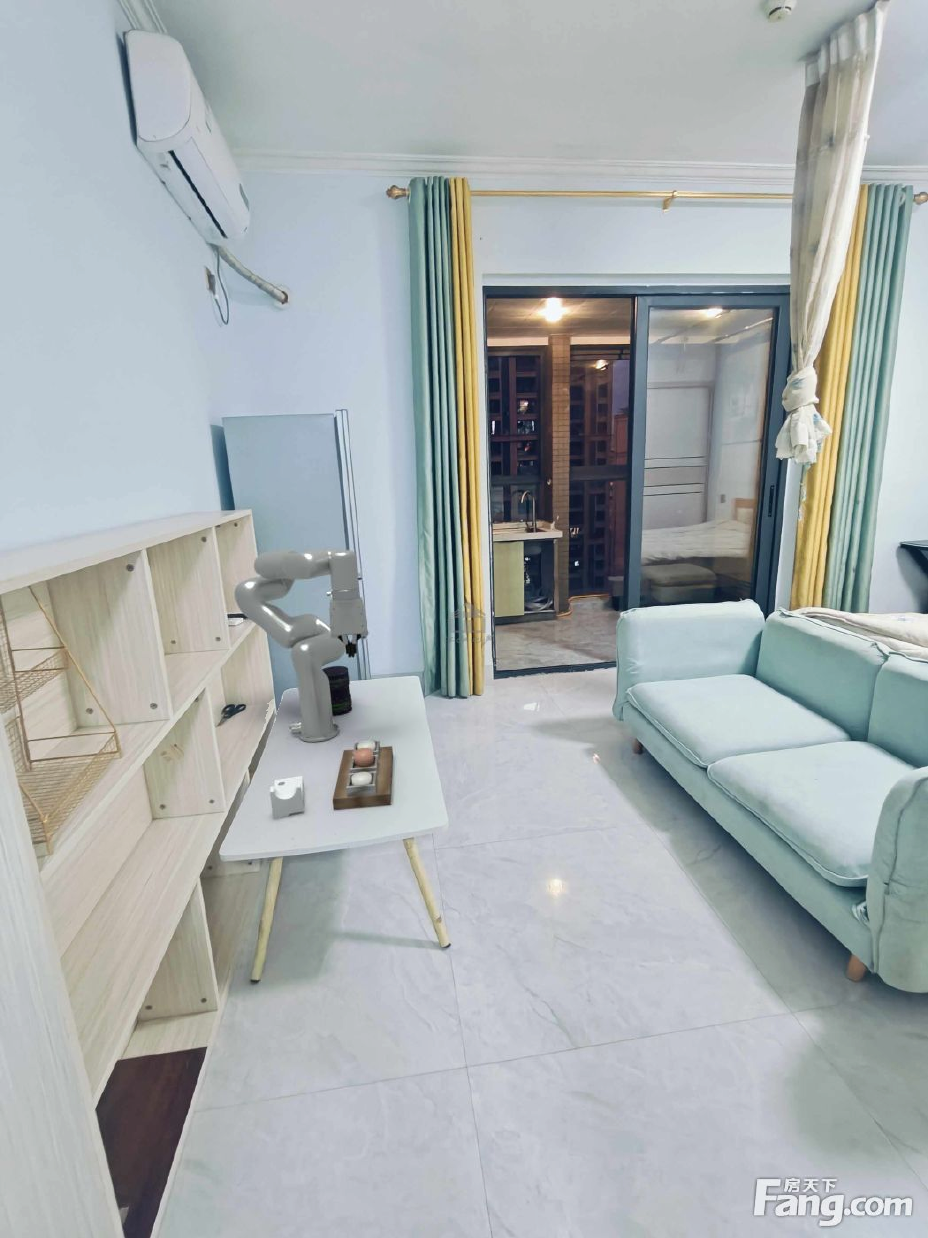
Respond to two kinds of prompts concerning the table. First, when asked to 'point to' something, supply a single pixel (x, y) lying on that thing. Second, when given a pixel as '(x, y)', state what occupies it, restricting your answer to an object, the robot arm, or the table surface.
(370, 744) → the far button
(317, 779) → the table surface
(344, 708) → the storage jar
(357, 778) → the near button
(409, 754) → the table surface
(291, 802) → the bracket
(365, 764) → the middle button
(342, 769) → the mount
